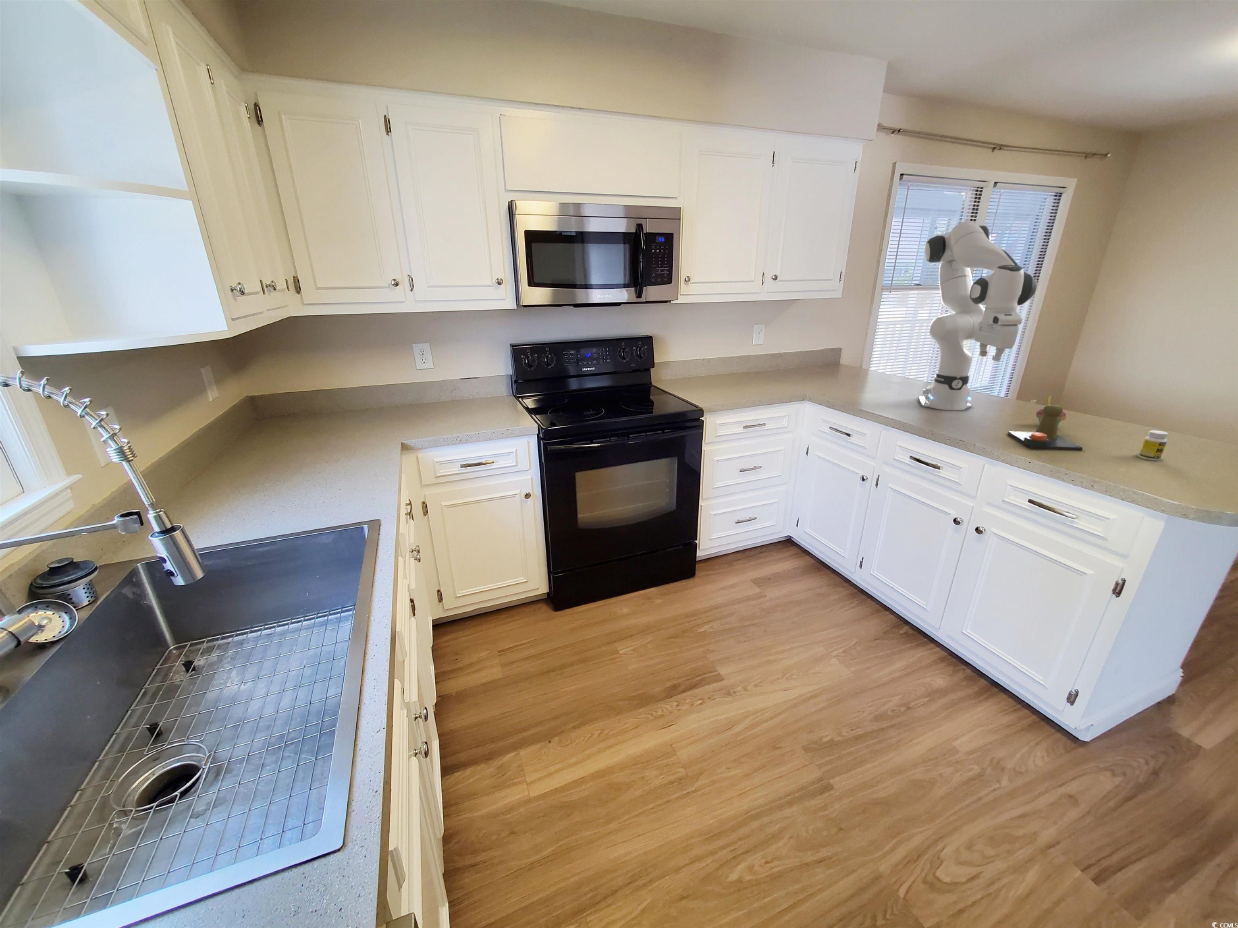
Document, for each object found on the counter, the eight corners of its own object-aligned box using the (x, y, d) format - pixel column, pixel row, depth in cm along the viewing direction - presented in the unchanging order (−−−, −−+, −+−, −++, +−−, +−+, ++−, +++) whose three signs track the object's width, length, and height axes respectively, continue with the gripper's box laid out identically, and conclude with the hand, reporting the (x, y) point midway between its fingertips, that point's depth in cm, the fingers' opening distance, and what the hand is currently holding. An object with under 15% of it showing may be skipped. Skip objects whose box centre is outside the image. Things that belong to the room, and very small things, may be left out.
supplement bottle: (1155, 461, 149) (1165, 435, 146) (1134, 457, 153) (1144, 431, 150) (1163, 459, 151) (1173, 432, 148) (1143, 454, 155) (1152, 428, 152)
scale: (1004, 434, 177) (1006, 426, 176) (1052, 435, 174) (1054, 427, 173) (1029, 449, 162) (1031, 441, 161) (1082, 451, 159) (1085, 442, 158)
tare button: (1027, 437, 166) (1028, 432, 165) (1041, 437, 165) (1042, 432, 165) (1034, 440, 162) (1035, 435, 162) (1048, 441, 162) (1049, 436, 161)
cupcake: (1031, 427, 183) (1040, 396, 179) (1034, 422, 189) (1042, 391, 185) (1061, 431, 178) (1071, 399, 173) (1063, 426, 183) (1072, 394, 179)
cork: (1060, 439, 167) (1070, 408, 163) (1040, 439, 168) (1049, 407, 164) (1049, 433, 172) (1058, 403, 168) (1030, 433, 174) (1038, 403, 170)
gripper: (974, 314, 176) (965, 353, 181) (1002, 320, 157) (992, 363, 162) (994, 314, 174) (985, 353, 179) (1025, 319, 156) (1014, 363, 161)
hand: (989, 358), depth 170 cm, fingers open, 8 cm apart
